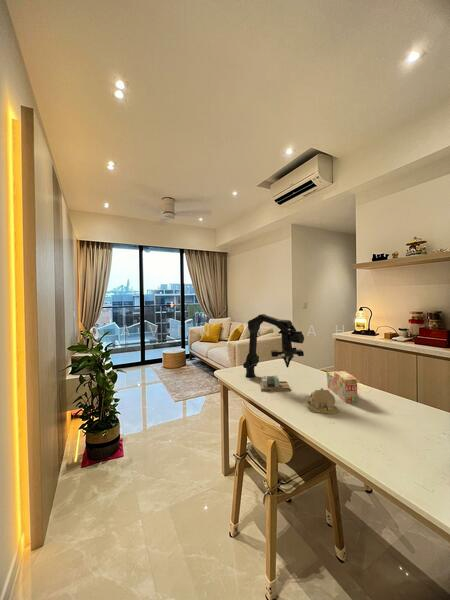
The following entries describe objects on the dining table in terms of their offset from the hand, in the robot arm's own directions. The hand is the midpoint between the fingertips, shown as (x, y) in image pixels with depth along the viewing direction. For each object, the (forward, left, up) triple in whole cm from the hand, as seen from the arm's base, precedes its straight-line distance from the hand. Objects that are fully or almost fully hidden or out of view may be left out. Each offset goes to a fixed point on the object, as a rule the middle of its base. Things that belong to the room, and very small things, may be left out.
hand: (287, 367), depth 149 cm
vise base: (0, -8, -12) cm, 14 cm away
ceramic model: (+28, +11, -12) cm, 33 cm away
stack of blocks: (+11, +27, -12) cm, 32 cm away
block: (0, -10, -11) cm, 15 cm away
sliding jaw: (0, -7, -11) cm, 13 cm away
